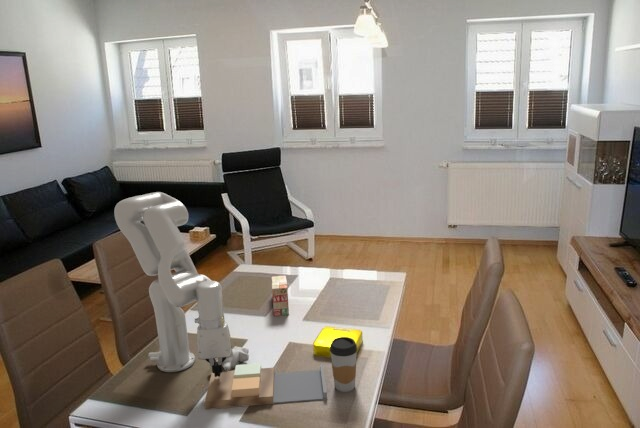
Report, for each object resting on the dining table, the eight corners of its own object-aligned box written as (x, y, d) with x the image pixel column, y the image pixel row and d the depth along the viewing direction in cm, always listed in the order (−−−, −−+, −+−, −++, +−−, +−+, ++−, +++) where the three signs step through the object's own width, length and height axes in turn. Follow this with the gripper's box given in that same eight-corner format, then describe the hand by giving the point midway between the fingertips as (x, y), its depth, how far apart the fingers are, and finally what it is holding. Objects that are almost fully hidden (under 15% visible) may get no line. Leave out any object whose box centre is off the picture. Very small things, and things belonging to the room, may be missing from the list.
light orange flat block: (232, 397, 154) (231, 390, 153) (234, 386, 159) (233, 378, 159) (259, 395, 154) (258, 387, 153) (260, 383, 160) (259, 376, 159)
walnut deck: (205, 409, 153) (204, 401, 152) (212, 379, 168) (211, 372, 168) (273, 403, 154) (272, 396, 153) (274, 374, 169) (273, 367, 169)
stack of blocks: (273, 295, 232) (271, 269, 229) (287, 294, 233) (285, 268, 230) (273, 316, 212) (271, 288, 209) (289, 315, 212) (287, 287, 209)
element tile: (363, 340, 189) (363, 328, 188) (354, 361, 176) (353, 348, 174) (324, 336, 194) (324, 324, 193) (312, 356, 180) (311, 343, 179)
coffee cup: (356, 378, 165) (355, 335, 161) (359, 393, 157) (358, 348, 153) (330, 379, 165) (328, 336, 161) (332, 395, 157) (330, 350, 153)
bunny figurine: (255, 346, 180) (229, 362, 167) (255, 360, 181) (230, 377, 168) (232, 341, 184) (206, 357, 171) (232, 355, 185) (206, 371, 172)
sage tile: (234, 382, 161) (234, 375, 161) (236, 371, 167) (235, 365, 166) (260, 380, 162) (260, 373, 161) (261, 370, 168) (260, 363, 167)
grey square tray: (273, 403, 154) (272, 396, 153) (274, 374, 169) (273, 367, 169) (327, 399, 155) (326, 392, 154) (323, 370, 170) (322, 364, 170)
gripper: (185, 328, 155) (191, 383, 160) (235, 324, 156) (240, 379, 160) (189, 317, 162) (196, 369, 167) (237, 314, 163) (242, 366, 168)
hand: (217, 374), depth 164 cm, fingers closed
